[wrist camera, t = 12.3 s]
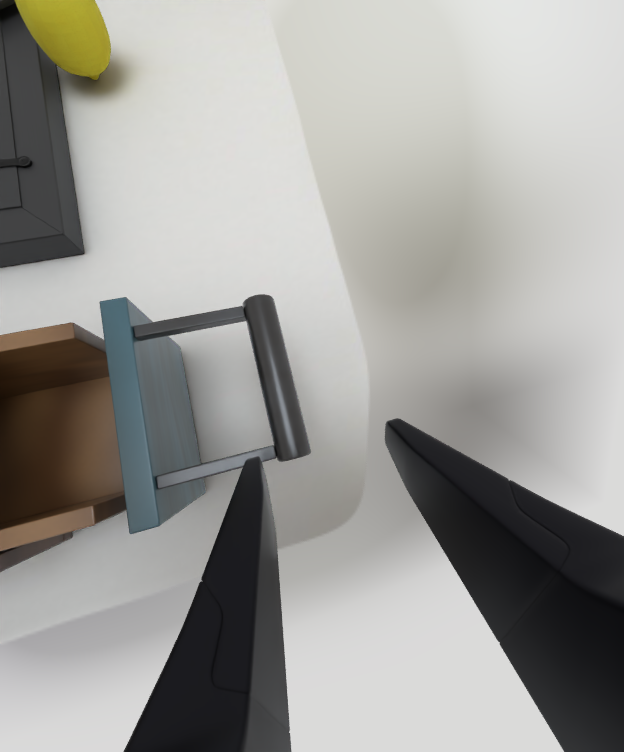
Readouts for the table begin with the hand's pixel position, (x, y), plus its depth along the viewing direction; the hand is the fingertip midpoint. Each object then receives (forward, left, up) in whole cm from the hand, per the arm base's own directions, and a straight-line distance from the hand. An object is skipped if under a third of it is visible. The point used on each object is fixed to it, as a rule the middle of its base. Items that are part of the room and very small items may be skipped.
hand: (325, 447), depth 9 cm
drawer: (+1, +10, -12) cm, 16 cm away
